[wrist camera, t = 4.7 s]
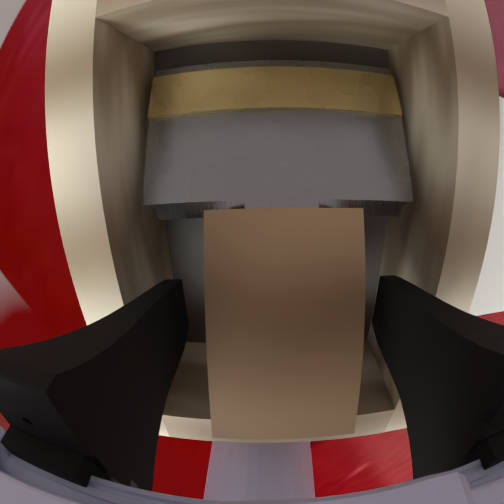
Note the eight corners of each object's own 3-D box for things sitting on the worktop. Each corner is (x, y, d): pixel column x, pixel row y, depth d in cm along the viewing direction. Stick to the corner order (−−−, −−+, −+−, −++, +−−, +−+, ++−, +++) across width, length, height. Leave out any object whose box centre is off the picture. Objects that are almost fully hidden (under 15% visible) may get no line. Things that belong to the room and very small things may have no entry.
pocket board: (388, 356, 18) (417, 425, 12) (161, 360, 19) (134, 430, 13) (415, 25, 10) (481, -10, 5) (120, 28, 11) (53, -8, 5)
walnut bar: (341, 407, 10) (354, 433, 8) (221, 410, 10) (212, 437, 8) (345, 217, 10) (363, 208, 8) (215, 219, 10) (203, 210, 8)
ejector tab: (396, 396, 11) (410, 411, 9) (160, 401, 11) (148, 418, 10) (382, 80, 11) (393, 61, 10) (163, 82, 12) (151, 63, 10)
